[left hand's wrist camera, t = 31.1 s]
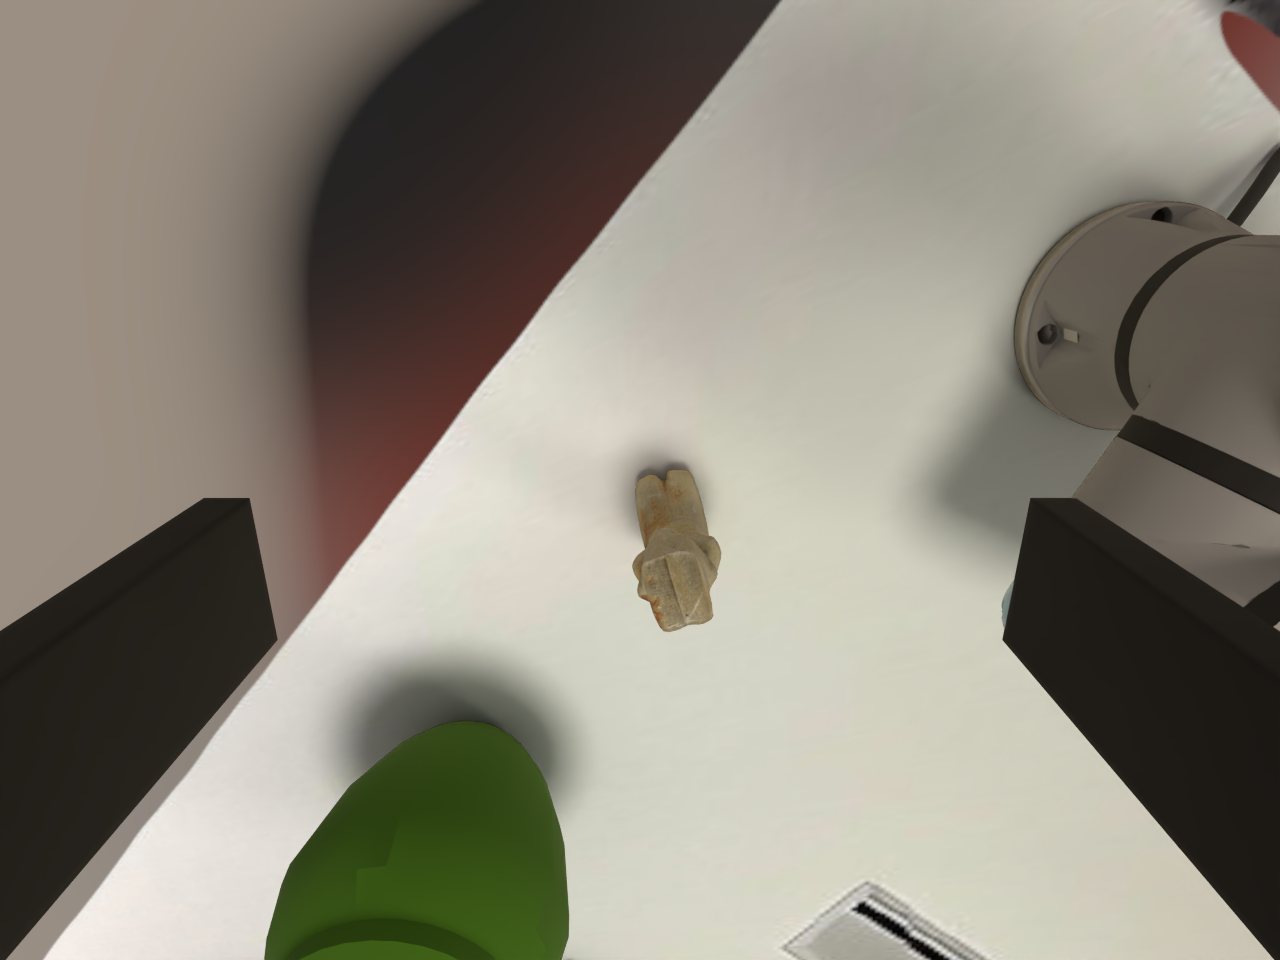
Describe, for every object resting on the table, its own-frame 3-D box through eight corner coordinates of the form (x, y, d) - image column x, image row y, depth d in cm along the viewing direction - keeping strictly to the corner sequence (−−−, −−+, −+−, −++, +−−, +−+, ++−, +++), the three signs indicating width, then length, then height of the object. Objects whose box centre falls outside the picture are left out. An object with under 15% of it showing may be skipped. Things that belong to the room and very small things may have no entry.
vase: (627, 727, 63) (619, 1021, 40) (520, 872, 69) (460, 1202, 46) (421, 625, 59) (285, 883, 37) (327, 787, 65) (159, 1098, 42)
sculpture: (701, 458, 54) (722, 544, 40) (716, 544, 57) (741, 653, 43) (625, 472, 55) (620, 562, 41) (643, 557, 57) (644, 669, 43)
